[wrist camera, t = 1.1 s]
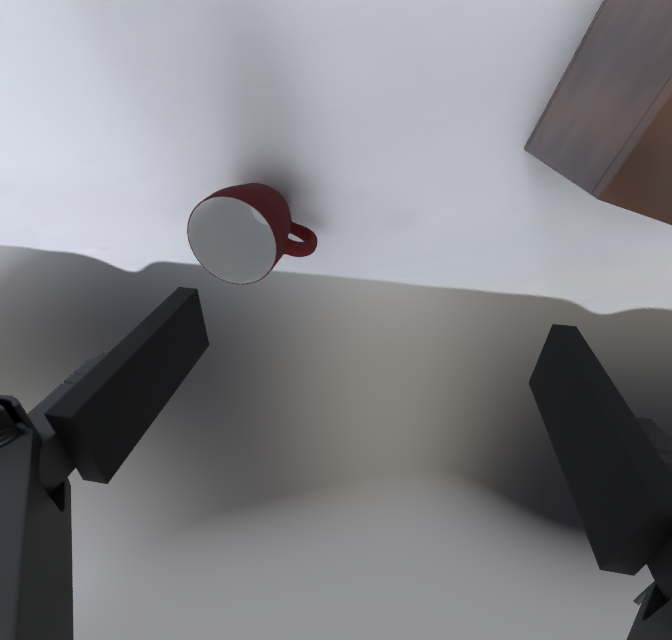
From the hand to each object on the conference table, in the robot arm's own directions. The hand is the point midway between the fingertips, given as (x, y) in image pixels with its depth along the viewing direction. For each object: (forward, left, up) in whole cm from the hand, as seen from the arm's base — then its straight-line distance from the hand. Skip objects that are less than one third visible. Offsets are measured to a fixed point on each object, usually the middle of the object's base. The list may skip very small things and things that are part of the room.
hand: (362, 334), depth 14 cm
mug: (+3, -12, -27) cm, 30 cm away
